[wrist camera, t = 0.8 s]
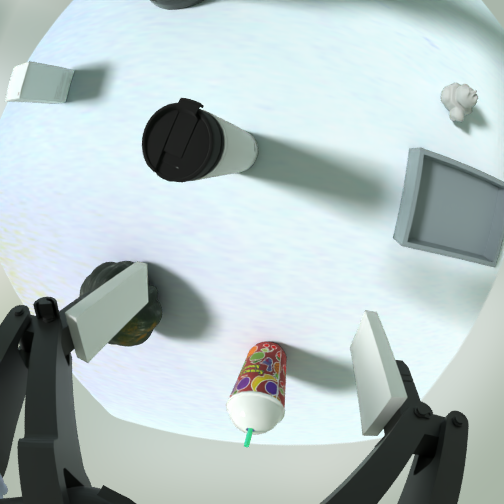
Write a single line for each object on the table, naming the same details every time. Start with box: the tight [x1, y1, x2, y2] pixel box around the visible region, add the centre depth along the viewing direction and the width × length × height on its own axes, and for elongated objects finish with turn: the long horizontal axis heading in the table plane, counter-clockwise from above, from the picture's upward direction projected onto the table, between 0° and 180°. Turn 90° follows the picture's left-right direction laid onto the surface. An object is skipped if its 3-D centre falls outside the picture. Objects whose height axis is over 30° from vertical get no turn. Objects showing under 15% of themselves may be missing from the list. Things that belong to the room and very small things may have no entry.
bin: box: [393, 148, 504, 267], centre depth 31 cm, size 13×19×4 cm
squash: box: [80, 261, 162, 346], centre depth 42 cm, size 14×15×15 cm
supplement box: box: [5, 61, 74, 104], centre depth 31 cm, size 7×7×13 cm
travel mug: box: [142, 98, 258, 182], centre depth 27 cm, size 6×7×20 cm
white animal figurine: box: [441, 83, 478, 122], centre depth 24 cm, size 5×7×8 cm
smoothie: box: [226, 342, 287, 447], centre depth 37 cm, size 8×8×20 cm
